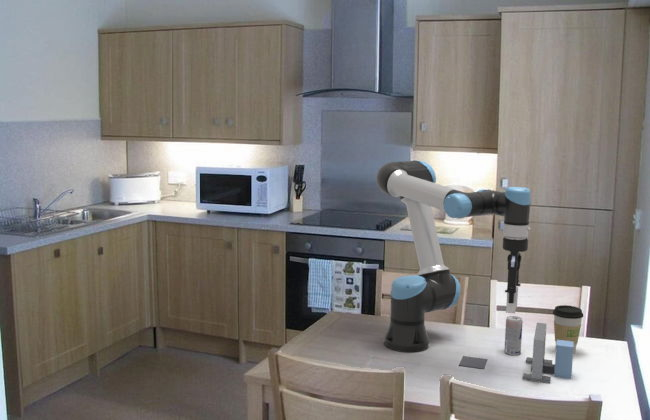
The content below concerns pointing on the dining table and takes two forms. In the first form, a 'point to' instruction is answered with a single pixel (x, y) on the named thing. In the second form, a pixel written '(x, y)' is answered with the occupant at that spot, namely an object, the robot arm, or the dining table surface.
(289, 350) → the dining table surface
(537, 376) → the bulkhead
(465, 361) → the mat
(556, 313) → the coffee cup
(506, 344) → the energy drink
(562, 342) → the plug
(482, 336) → the dining table surface
